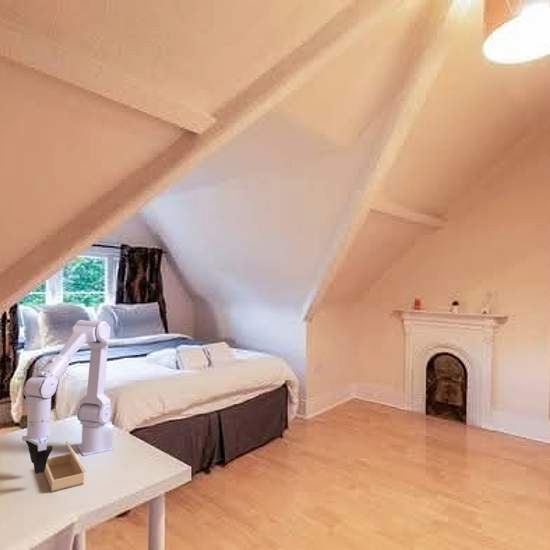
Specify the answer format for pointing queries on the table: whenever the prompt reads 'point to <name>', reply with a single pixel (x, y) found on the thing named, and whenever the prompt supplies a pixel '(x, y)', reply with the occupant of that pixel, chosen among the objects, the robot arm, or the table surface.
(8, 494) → the table surface
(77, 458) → the lid flap
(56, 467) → the carton
